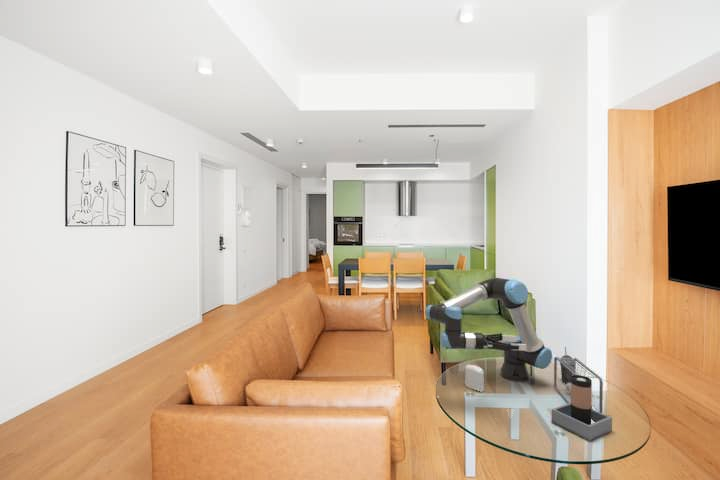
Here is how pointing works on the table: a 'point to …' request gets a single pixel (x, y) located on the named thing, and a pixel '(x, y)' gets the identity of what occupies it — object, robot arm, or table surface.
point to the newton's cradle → (576, 374)
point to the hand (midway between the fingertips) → (521, 342)
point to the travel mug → (581, 398)
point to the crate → (587, 432)
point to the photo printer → (474, 377)
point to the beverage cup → (563, 368)
